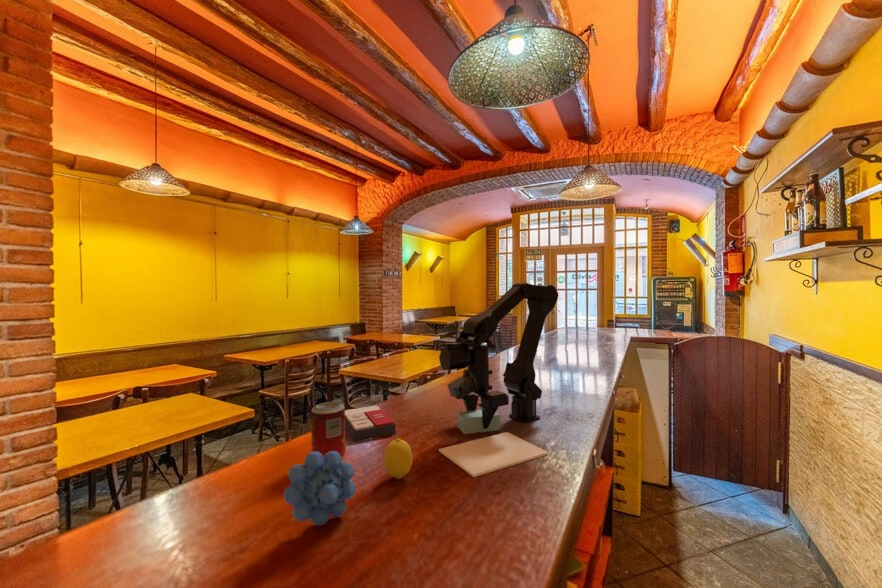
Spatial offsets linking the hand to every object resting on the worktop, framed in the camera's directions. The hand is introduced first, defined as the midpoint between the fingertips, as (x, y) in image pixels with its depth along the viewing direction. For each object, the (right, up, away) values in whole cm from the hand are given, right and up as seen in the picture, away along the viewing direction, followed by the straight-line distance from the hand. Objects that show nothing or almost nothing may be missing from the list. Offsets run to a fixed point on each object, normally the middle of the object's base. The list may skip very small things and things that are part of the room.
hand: (478, 424), depth 101 cm
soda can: (-34, -2, -18) cm, 39 cm away
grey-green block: (0, -1, 0) cm, 1 cm away
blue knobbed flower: (-28, -2, -41) cm, 50 cm away
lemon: (-18, -2, -26) cm, 32 cm away
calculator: (-30, -2, +1) cm, 30 cm away
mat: (+2, -1, -15) cm, 15 cm away
